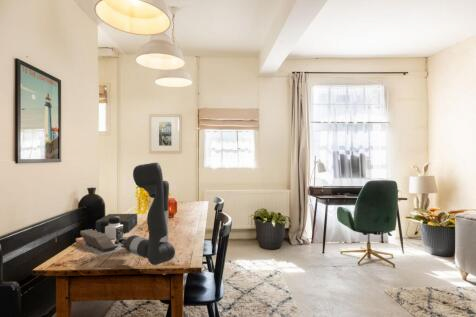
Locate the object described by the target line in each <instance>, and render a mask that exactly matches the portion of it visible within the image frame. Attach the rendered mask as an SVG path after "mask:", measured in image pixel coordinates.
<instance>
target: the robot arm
mask: <svg viewBox="0 0 476 317" xmlns="http://www.w3.org/2000/svg"><path fill="white" fill-rule="evenodd" d="M162 171H163V170H162V168H161V164H160V163H159V162H149V163H144V164H138V165H136V166H135V167H134V168H133V172H132V177H133V181H134V183H135V185H136V186H137V187H138V188H140V189H143V190H145V192H147V195H148V196H149V197H150V198H153V200H152V203H151V204H150V207H149V210H148V212H147V216H146V223H147V229H148V238H145V237H143V236H139V235H136V234H133V235H131V236H122V237H121V236H119V237H117V238H116V239H115V241H114V242H113V244H114V248H120V247H121V248H124V249H125V251H126V252H127V253H129V254H131V255H134V256H138V257H141V258H144V259H147V260H148V262H149V263H150V265H153V266H158V265H160V264H163V263H167V262H170V261H172V260H173V259H174V258H175V255H176V249H175V247H174V246H173V244H172V243H170V242H169V235H170V234H169V230H170V229H169V224H170V223H169V195H170V194H169V193H170V183H169V181H167V180H164V176H163V172H162Z"/></svg>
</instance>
